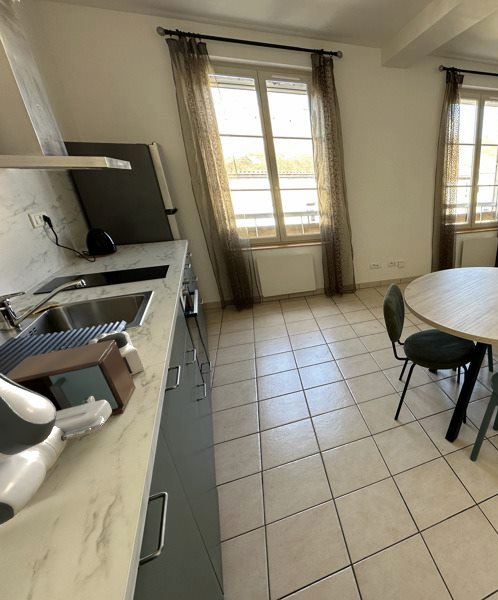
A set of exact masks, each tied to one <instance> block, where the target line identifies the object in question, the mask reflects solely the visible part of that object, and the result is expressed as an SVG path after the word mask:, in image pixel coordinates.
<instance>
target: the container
mask: <svg viewBox="0 0 498 600" xmlns="http://www.w3.org/2000/svg"><path fill="white" fill-rule="evenodd" d="M110 340H115V342H116V344H117V347H118V349H119V351H120V353H121V355H122V358H123V360H124V362H125V364H126V367H127V369H128V371H129V373H130V376H131V377H132V376H134V375H136V374H138V373H140V372H142V371H145V366H144V363H143V361H142V359H141V356H140V354H139V352H138V349H137V348H135V347H134V346H133V347H132V346H130V345H129V344H128V341H127V339H126V337H125V334H123V333H111V334H108V335H105V336H103V337H101V338H100V339H99V340H98V341H97V343H100V342H105V341H110Z"/></svg>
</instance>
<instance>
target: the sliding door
mask: <svg viewBox="0 0 498 600" xmlns="http://www.w3.org/2000/svg"><path fill="white" fill-rule="evenodd" d="M49 377H50V379H51V381H52V383H53V385H52V386H51V387H50V389H51V391H52V392H53V394H54V396H55V398H56V399H57V401H58V403H59V405H60V407H61V408H62V410H64V409H68V408H72V407H76V406H80V405H84V404H83V402H82V401H83V400H84V398H86V397H90V396H93V397H94V399H95V402H96V401H100V400H106V401H107V402H108V403H109V404H110V406H111V409H115V408H117V407H118V405H117V403H116V401H115V399H114V397H113V395H112V393H111V390H110V388H109V386H108V384H107V382H106V380H105V378H104V376H103V374H102V372H101V370H100V368H99V366H98V365H94V366H89V367H85V368H80V369H76V370H71V371H67V372H62V373H57V374H53V375H50V376H49Z"/></svg>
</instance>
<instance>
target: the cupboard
mask: <svg viewBox="0 0 498 600" xmlns="http://www.w3.org/2000/svg"><path fill="white" fill-rule="evenodd" d="M94 365H98V366H99V368H100V370H101V372H102V374H103V376H104V378H105V380H106V382H107V384H108V386H109V388H110V390H111V393H112V395H113V397H114V399H115V401H116V403H117V405H118V407H117V408H115V409H112V413H111V415H110V416H109V418H110V417H113V416H117V415H120V414H124V413H125V410H126V409H127V407H128V404H129V402H130V401H131V398H132V396H133V394H134V392H135V390H136V388H137V387H136V385H135V383H134V381H133V378H132V375H131V376H130V373H129V371H128V369H127V367H126V364H125V362H124V360H123V358H122V355H121V353H120V351H119V349H118V347H117V344H116V342H115V340H110V341H105V342H100V343H95V344H90V345H89V344H86V345H80V346H75V347H70V348H65V349H60V350H54V351H50V352H46V353H45V352H44V353H40V354H35V355H31V356H26V357H25V358H24V359H23V360H22V361H21V362H19V363H18V364H17V365H16V366H15V367H14V368H12V370H10V371H8V373H7V374H6V375H5V376H6V377H7V378H9V379H10V380H12V381H14V382H15V383H17V384H19V385H21V386H23V387H25V388H27V389H29V390H31V391H34V392H36V393H38V394H40V395H42V396H44V397H45V398H47V399H48V400H49V401H51V402H52V404H53V405H54V407H55V409H56V411H60V410H62V408H61V407H60V405H59V403H58V401H57V399H56V398H55V396H54V394H53V392H52V391H51V389H50V387H51V386H52V385H53V383H52V381H51V379H50V377H49V376H50V375H53V374H57V373H62V372H67V371H71V370H76V369H80V368H85V367H89V366H94Z"/></svg>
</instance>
